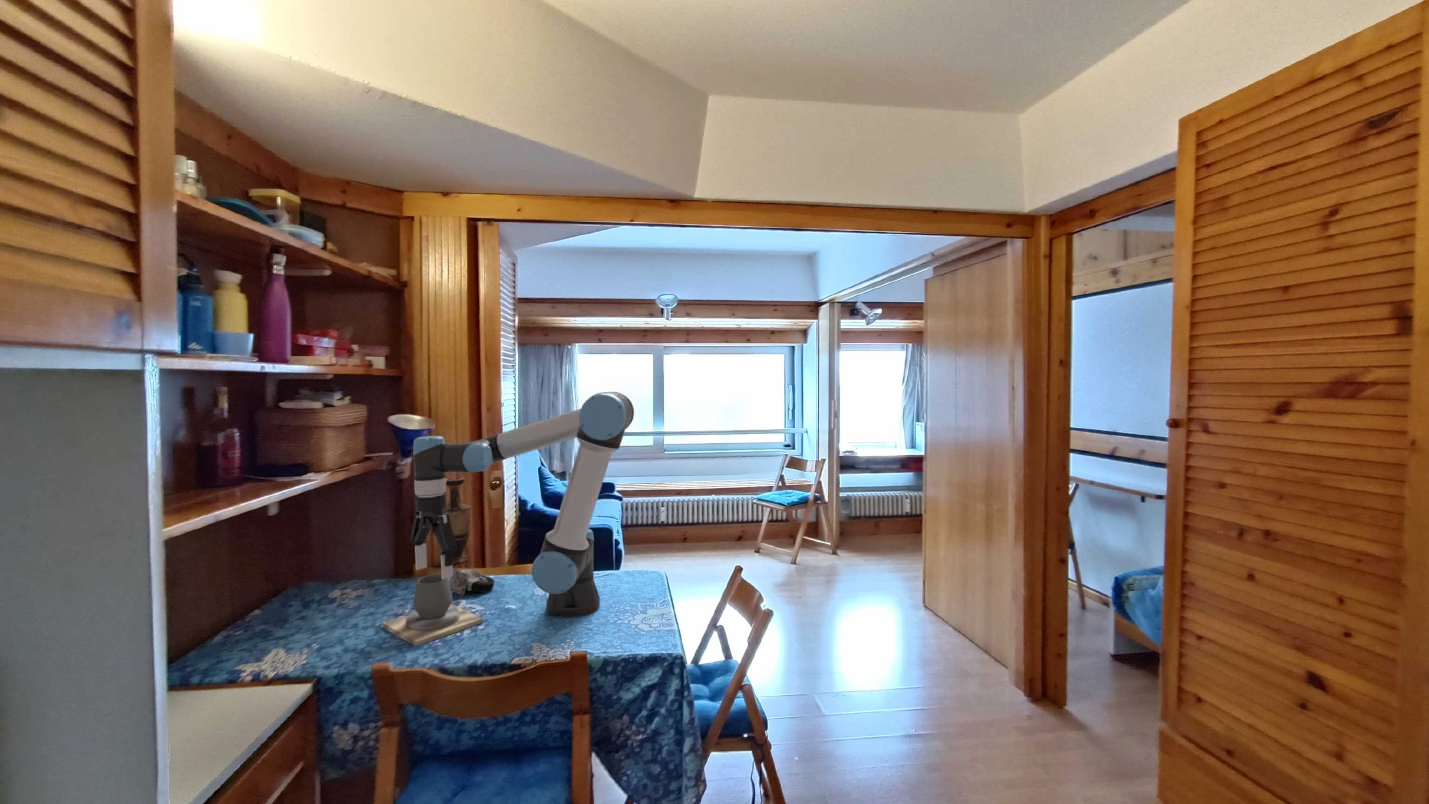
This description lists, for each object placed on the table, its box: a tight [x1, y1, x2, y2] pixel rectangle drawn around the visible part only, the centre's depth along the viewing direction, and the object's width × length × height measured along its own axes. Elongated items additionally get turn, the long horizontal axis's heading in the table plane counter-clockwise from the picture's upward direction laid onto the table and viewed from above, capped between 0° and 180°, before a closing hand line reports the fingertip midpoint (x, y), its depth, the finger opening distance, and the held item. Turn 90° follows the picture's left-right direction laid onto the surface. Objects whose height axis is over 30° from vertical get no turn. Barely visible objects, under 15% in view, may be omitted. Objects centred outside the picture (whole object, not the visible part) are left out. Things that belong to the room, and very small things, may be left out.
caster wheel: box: [449, 568, 495, 597], centre depth 186 cm, size 7×11×10 cm
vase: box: [442, 477, 472, 565], centre depth 214 cm, size 11×11×30 cm
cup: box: [412, 573, 453, 619], centre depth 159 cm, size 10×9×10 cm
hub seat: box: [382, 603, 484, 647], centre depth 160 cm, size 18×18×3 cm
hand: (434, 573), depth 159 cm, fingers open, 13 cm apart
